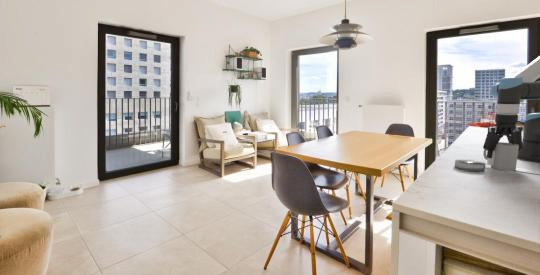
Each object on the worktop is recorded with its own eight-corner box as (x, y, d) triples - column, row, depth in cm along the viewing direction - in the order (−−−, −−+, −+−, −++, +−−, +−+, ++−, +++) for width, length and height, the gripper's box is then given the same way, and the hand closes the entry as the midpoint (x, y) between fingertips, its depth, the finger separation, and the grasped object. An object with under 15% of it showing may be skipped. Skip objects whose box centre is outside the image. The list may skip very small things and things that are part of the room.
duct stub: (471, 165, 131) (472, 158, 130) (491, 172, 120) (492, 165, 119) (448, 165, 130) (449, 159, 130) (466, 172, 119) (467, 165, 119)
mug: (518, 169, 123) (522, 144, 121) (511, 172, 118) (515, 146, 117) (485, 163, 133) (488, 140, 131) (478, 166, 128) (481, 142, 126)
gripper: (522, 112, 126) (515, 162, 130) (476, 113, 125) (470, 163, 129) (539, 114, 118) (531, 166, 122) (490, 115, 117) (484, 167, 121)
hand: (500, 164), depth 125 cm, fingers closed on mug, 9 cm apart
